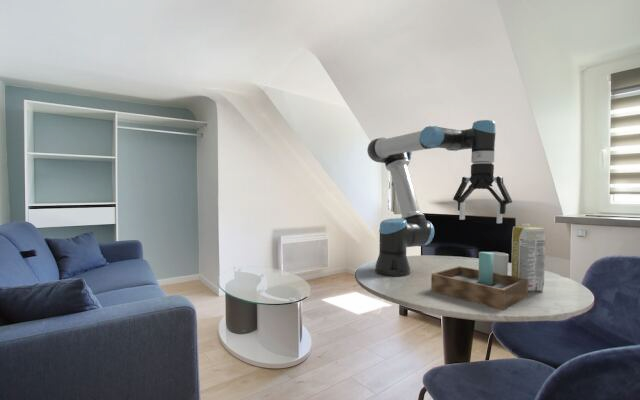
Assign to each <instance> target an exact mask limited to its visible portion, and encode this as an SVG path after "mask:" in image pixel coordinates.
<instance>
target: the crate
mask: <svg viewBox="0 0 640 400" xmlns="http://www.w3.org/2000/svg"><path fill="white" fill-rule="evenodd" d="M478 279H479V269H476V268H471V267H465V266H462V265H461V266H460V265H459V266H455V267H452V268H451V267H450V268H448V269H444V270H441V271H437V272H433V273H431V284H430V285H431V286H430V289H431V292H435V293H439V294H441V295H442V294H443V295H447V296H451V297H454V298H459V299H461V300H465V301H468V302H473V303H477V304H480V305H484V306H487V307H490V308H495V309H498V310H502V311H504V310H506V309H508V308H510V307H512V306H513V304H514V305H515V304H517V303H520V302H521V301H523V300H524V299H526V298H528V295H529V293H528V292H529V291H528V279H524V278H519V277H514V276H511V275H509V274H508V275H503V274H498V273H493V286H492V287H491V286H487V285H482V284H478Z"/></svg>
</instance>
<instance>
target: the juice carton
mask: <svg viewBox="0 0 640 400" xmlns="http://www.w3.org/2000/svg"><path fill="white" fill-rule="evenodd" d="M545 230H546V229H545V228H544V227H539V226H531V224H530V223H521V226H513V227H512V235H511V236H512V237H511V268H510V269H511V271H510V273H511V275H510V276H514V277H519V278H524V279H528V292H543V291H544V286H545V270H546V269H545V266H546V265H545V261H546V231H545Z"/></svg>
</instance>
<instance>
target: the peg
mask: <svg viewBox="0 0 640 400" xmlns="http://www.w3.org/2000/svg"><path fill="white" fill-rule="evenodd" d="M490 252H491V251H478V270H479V279H478V284H482V285H487V286H491V287H492V286H493V253H490Z"/></svg>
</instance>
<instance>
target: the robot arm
mask: <svg viewBox="0 0 640 400" xmlns="http://www.w3.org/2000/svg"><path fill="white" fill-rule="evenodd" d="M496 134H497V132H496V122H495V120H491V119H483V120H481V119H479V120H476V121H474V122H473V123H472V127H471V128H468V129H461V130H460V129H454V128H446V127H441V126H436V125H433V126H432V125H428V126H425V127H424V128H423V129H422V130H420V131H415V132H410V133H406V134H402V135H397V136H396V135H395V136H392V137H388V138H386V137H379V138H374V139H373V140H371V141H370V142H369V143H368V146H367V155H368V157H369V158H370V159H371V160H372V161H374V162H375V163H380V164H381V163H382V164H384V165H385V169H386V170H387V171H389V172H390V176H391V179H392V183H393V188H394V191H395V195H396V199H397V203H398V206H399V211H400V214H401V217H400V218H397V217H395V218H388V219H384V220H382V221H381V222H380V223H379V232H378V233H379V252H378V257H377V259H376V260H377V261H376V262H375V266H374V267H375V268H374V272H375V273H377V274H379V275H384V276H389V277H390V276H391V277H402V276H403V277H404V276H405V277H406V276H409V275H410V274H411V267H410V263H409V260H408V257H407V248H412V247H423V246H427V245H429V244H430V243H431V242H432V241H433V239H434V236H435V227H434V225H433V224H432V222H431V221H429V220H427V219H426V216H425V214H424V213H422V212H421V210H420V207H419V203H418V199H417V195H416V192H415V189H414V185H413V182H412V178H411V175H410V172H409V167H408V166H409V165H410V160H411V159H412V155H413V153H412V152H417V151H423V150H430V149H446V151H454V152H456V151H461V150H469V149H471V157H470V158H471V159H470V162H471V163H472V164H471V165H470V177H468V176H462V177H461V183H460V185H459V186H458V188H457V191H456V192H455V194H454V195H453V198H452V200H453V201H455V202H457V211H459V219H458V220H461V221H462V220H463V221H464V220H466V202H465V201H466V200H467V198H468V197H470V195H471V194H472V193H473V192H474V190H478V189H479V190H481V189H482V190H487V191H489V193H490V194H491V195H492V196H493V197H494V199H496V200H497V202H498V203H499V204H497V206H496V207H497V208H496V224H502V223H503V217H504V216H503V215H505V214H506V210H507V209H506V208H507V205H508V204H512V203H513V200H512V198H511V195H510V194H509V192H508V189H507V188H506V185H505V183H504V177H503V176H495V177H494V173H495V172H494V170H495V165H494V164H493V163H495V146H496V144H495V143H496ZM469 182H470V184H469ZM494 182H495V184H496V185H497V188H498V189H499V192H498V190H497V189H496V187H495V186H494V184H493V183H494ZM468 184H469V186H468V188H467V189H466V187H467V185H468ZM465 189H466V190H465ZM500 193H501V194H500Z"/></svg>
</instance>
